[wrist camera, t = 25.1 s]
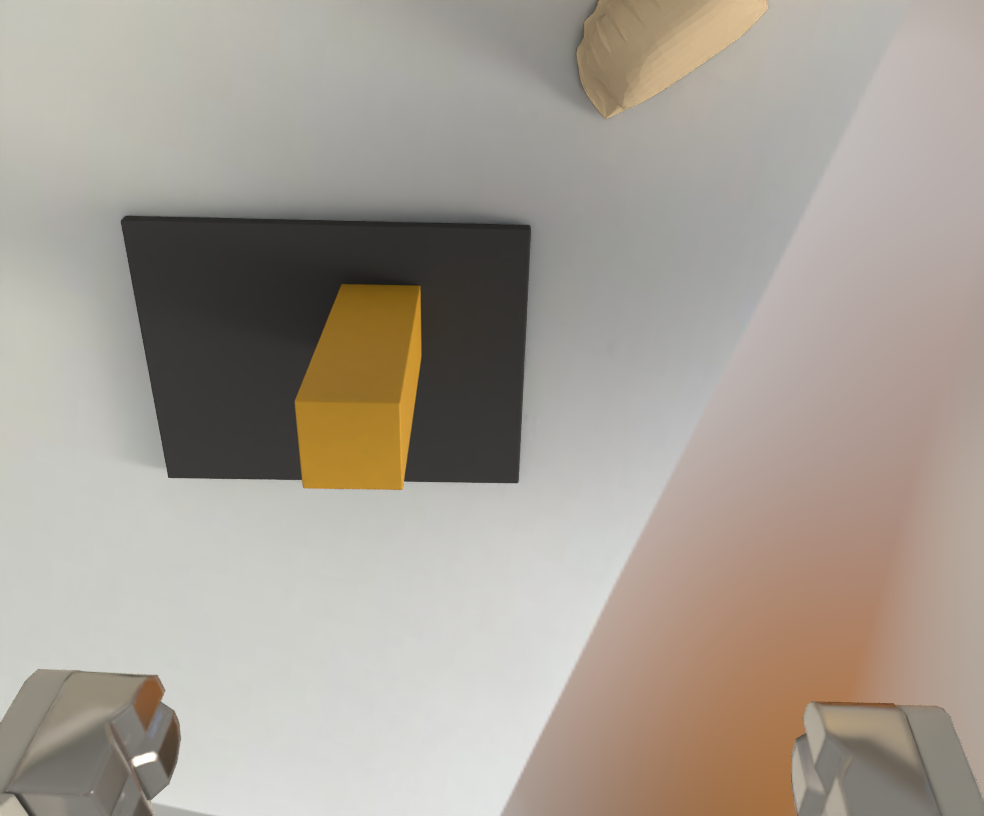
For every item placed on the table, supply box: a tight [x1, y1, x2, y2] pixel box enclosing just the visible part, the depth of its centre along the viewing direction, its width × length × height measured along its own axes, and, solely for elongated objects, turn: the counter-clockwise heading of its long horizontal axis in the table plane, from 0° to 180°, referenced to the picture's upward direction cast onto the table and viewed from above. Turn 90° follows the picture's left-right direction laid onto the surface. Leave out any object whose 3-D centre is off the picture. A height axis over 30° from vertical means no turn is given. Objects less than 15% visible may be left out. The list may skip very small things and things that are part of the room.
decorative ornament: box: [576, 0, 768, 119], centre depth 28 cm, size 4×8×5 cm, turn 122°
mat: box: [121, 216, 531, 483], centre depth 37 cm, size 16×12×1 cm
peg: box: [295, 284, 421, 490], centre depth 31 cm, size 3×3×10 cm
